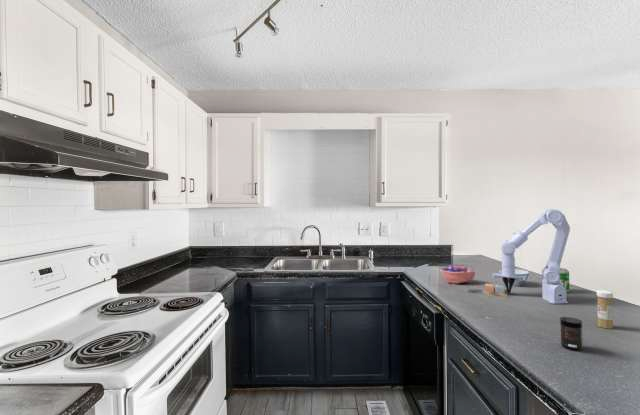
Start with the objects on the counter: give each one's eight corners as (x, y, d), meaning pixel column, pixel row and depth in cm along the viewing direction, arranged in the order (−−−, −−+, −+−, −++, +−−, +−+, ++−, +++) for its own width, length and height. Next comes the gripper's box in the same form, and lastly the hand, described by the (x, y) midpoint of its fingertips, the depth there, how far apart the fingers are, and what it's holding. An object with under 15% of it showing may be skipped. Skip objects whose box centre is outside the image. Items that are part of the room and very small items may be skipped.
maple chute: (508, 292, 168) (508, 288, 168) (508, 299, 156) (508, 295, 156) (467, 288, 178) (467, 284, 178) (464, 294, 166) (464, 290, 166)
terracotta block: (494, 291, 167) (493, 284, 167) (493, 294, 163) (493, 286, 163) (485, 291, 169) (485, 283, 169) (485, 293, 165) (484, 285, 165)
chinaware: (535, 287, 176) (535, 273, 176) (508, 288, 176) (508, 274, 176) (519, 281, 191) (518, 268, 191) (494, 281, 191) (493, 268, 191)
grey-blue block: (504, 292, 165) (503, 285, 165) (504, 295, 160) (503, 287, 160) (495, 292, 167) (495, 284, 167) (495, 294, 162) (494, 286, 162)
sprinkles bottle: (594, 324, 122) (593, 290, 122) (604, 324, 122) (604, 289, 122) (605, 329, 117) (605, 293, 117) (617, 328, 118) (616, 292, 118)
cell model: (480, 287, 180) (479, 267, 180) (443, 286, 183) (442, 267, 183) (470, 280, 197) (470, 262, 197) (437, 279, 200) (436, 262, 200)
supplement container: (579, 345, 105) (579, 318, 105) (585, 352, 100) (585, 324, 100) (558, 342, 108) (557, 315, 108) (562, 349, 102) (562, 321, 102)
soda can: (553, 292, 166) (552, 269, 166) (550, 289, 172) (550, 267, 172) (571, 294, 162) (570, 270, 162) (567, 290, 169) (567, 268, 169)
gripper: (524, 265, 161) (525, 292, 161) (492, 263, 169) (492, 289, 169) (525, 268, 155) (526, 295, 155) (492, 266, 162) (492, 292, 163)
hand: (508, 292), depth 162 cm, fingers closed
